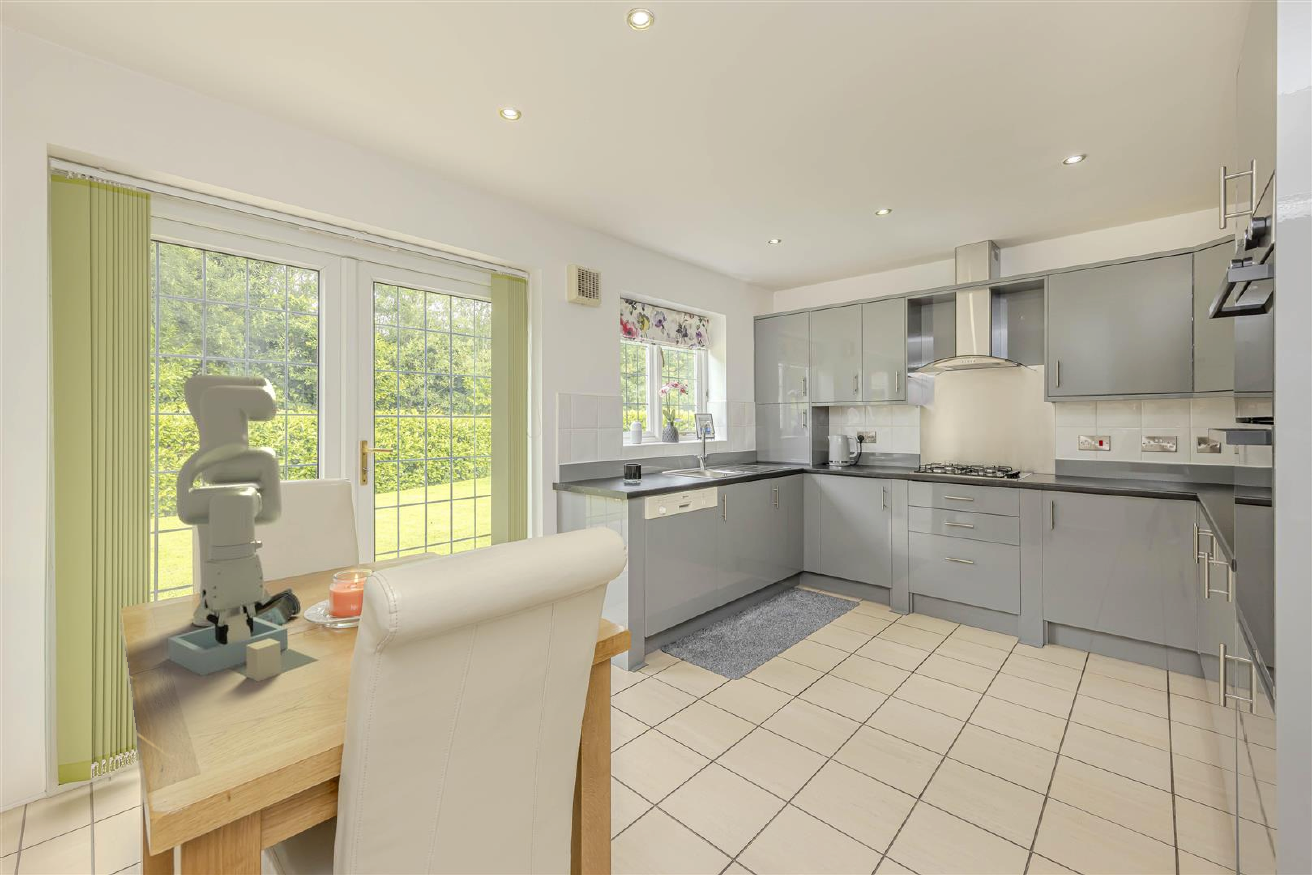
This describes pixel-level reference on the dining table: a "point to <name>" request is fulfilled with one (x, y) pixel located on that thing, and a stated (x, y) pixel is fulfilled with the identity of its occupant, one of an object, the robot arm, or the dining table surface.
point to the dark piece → (279, 608)
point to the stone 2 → (263, 659)
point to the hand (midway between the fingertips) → (234, 639)
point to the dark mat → (282, 662)
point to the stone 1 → (237, 628)
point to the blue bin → (219, 647)
